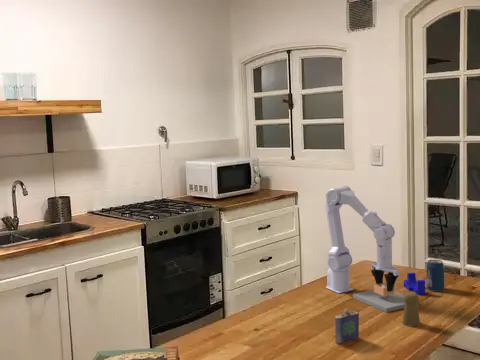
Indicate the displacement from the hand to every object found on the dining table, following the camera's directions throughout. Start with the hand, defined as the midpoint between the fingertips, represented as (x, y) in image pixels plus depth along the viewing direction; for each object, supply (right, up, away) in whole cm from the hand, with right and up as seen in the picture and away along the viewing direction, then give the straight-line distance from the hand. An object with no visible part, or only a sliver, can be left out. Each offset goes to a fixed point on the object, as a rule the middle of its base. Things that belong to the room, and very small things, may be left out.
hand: (384, 289), depth 220 cm
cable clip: (+16, -3, +12) cm, 20 cm away
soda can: (+24, -3, +12) cm, 27 cm away
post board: (0, -5, +1) cm, 5 cm away
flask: (-22, -10, -36) cm, 43 cm away
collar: (0, -2, 0) cm, 2 cm away
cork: (+3, -8, -23) cm, 25 cm away
